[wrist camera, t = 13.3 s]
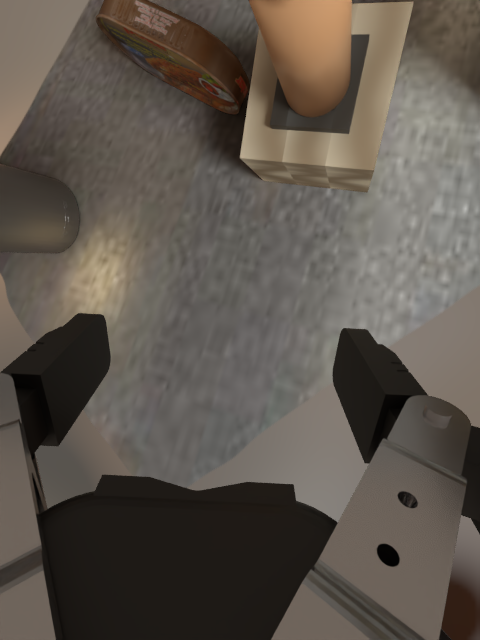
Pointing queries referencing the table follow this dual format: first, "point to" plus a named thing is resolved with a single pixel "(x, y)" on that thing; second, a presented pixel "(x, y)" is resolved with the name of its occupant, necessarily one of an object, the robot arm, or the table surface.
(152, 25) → the tin
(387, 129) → the table surface
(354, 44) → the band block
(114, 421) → the table surface
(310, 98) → the flanged tan peg
